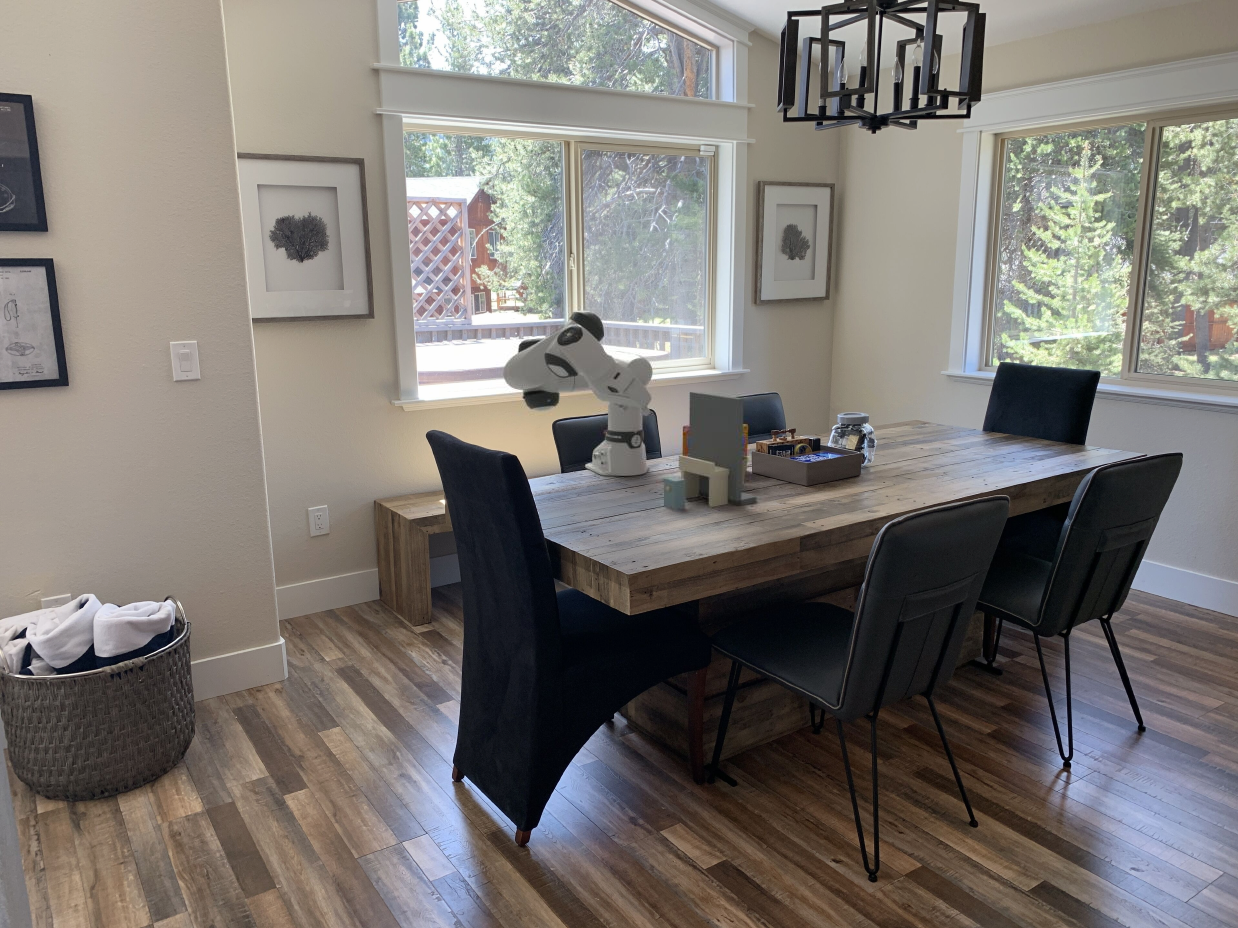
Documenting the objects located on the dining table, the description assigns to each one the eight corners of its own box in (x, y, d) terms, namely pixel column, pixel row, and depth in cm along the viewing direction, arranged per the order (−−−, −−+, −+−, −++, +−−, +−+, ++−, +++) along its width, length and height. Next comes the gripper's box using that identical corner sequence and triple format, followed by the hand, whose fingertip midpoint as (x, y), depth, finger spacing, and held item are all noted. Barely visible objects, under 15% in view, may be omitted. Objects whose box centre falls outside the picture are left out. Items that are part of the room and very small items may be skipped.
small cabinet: (661, 506, 252) (661, 478, 251) (673, 504, 255) (673, 476, 253) (673, 510, 249) (673, 481, 247) (684, 507, 251) (685, 479, 249)
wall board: (671, 496, 264) (672, 393, 258) (708, 489, 273) (710, 389, 267) (718, 509, 248) (720, 401, 242) (756, 501, 257) (759, 396, 251)
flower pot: (724, 490, 271) (724, 461, 270) (712, 483, 280) (713, 455, 279) (753, 487, 274) (754, 459, 272) (741, 481, 283) (741, 454, 281)
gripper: (575, 382, 238) (606, 415, 245) (622, 390, 222) (653, 425, 229) (589, 364, 239) (619, 398, 247) (636, 370, 223) (667, 406, 231)
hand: (636, 411), depth 238 cm, fingers open, 8 cm apart
